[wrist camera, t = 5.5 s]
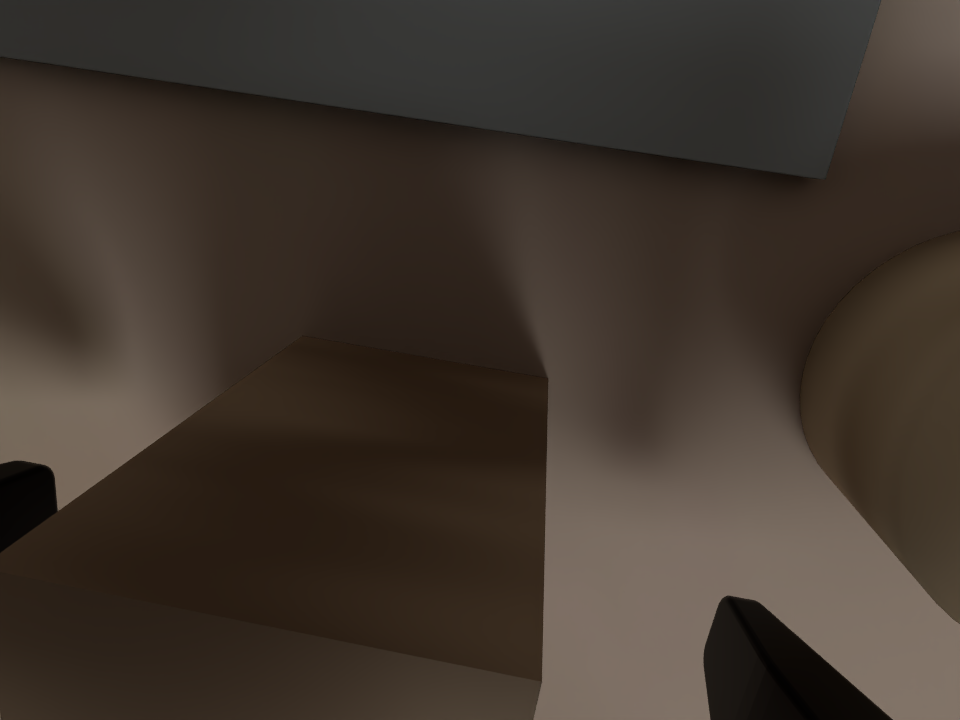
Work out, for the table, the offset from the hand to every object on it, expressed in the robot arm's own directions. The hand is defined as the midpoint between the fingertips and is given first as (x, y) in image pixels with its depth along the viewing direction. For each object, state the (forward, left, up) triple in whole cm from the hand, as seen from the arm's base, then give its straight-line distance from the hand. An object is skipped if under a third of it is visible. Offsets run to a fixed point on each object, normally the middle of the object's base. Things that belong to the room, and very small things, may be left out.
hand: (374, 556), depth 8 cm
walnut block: (0, 0, -2) cm, 3 cm away
